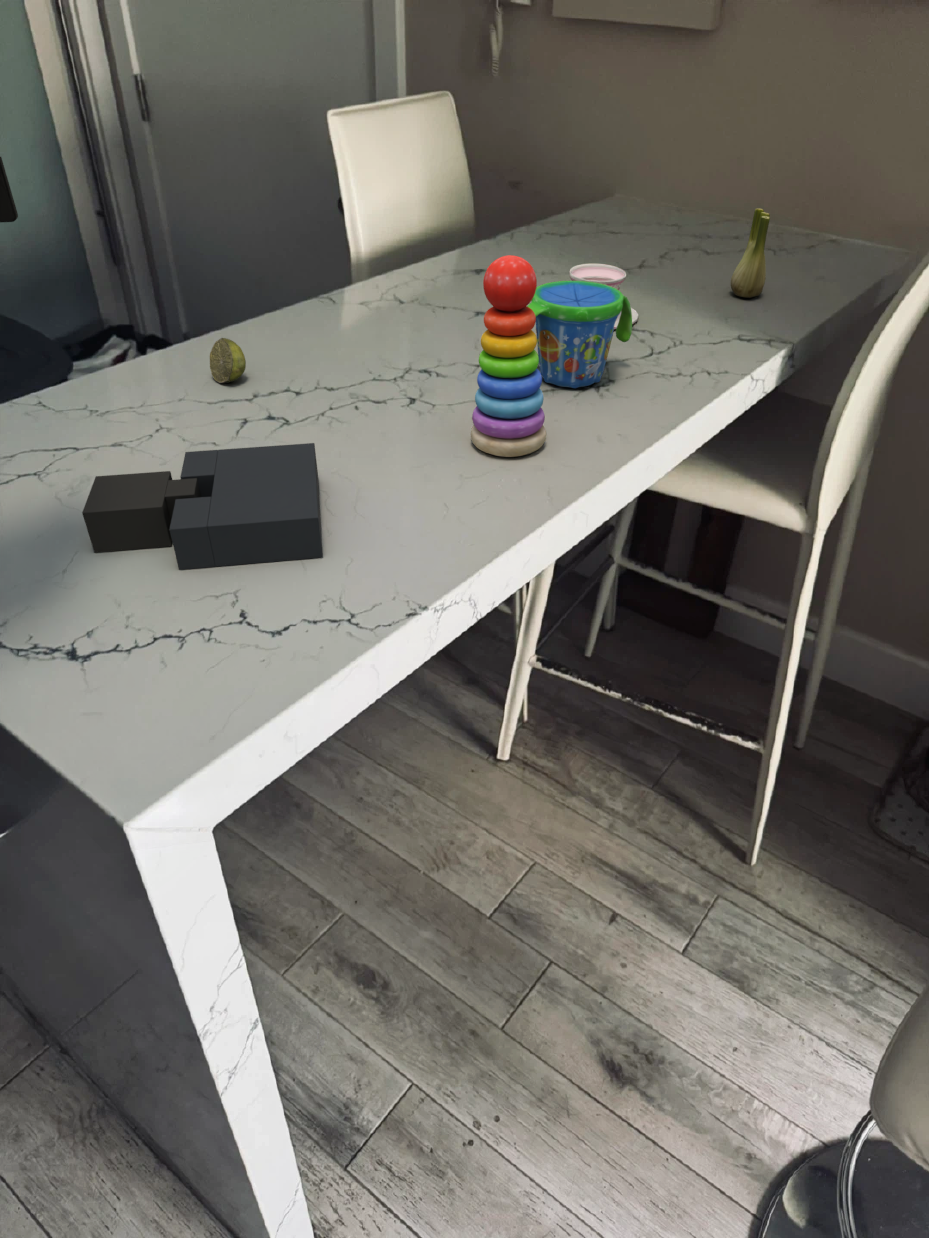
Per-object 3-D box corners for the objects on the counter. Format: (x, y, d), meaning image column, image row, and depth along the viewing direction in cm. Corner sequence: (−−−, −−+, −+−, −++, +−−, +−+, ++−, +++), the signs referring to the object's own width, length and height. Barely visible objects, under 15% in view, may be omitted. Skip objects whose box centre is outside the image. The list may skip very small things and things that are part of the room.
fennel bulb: (755, 303, 128) (773, 216, 121) (723, 298, 130) (738, 212, 123) (766, 293, 132) (784, 208, 125) (734, 288, 134) (750, 204, 127)
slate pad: (178, 570, 73) (169, 529, 71) (193, 489, 84) (185, 451, 82) (322, 557, 75) (318, 517, 72) (318, 480, 86) (314, 442, 83)
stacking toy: (554, 432, 94) (566, 250, 83) (534, 465, 88) (544, 273, 77) (484, 422, 96) (486, 243, 85) (460, 453, 90) (459, 265, 79)
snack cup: (604, 354, 112) (612, 272, 106) (649, 384, 105) (661, 297, 98) (494, 372, 107) (496, 288, 101) (533, 405, 100) (537, 316, 94)
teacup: (541, 307, 127) (544, 263, 123) (618, 301, 129) (623, 257, 126) (569, 335, 118) (572, 288, 114) (651, 328, 120) (657, 282, 116)
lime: (240, 389, 103) (234, 347, 100) (202, 385, 104) (195, 344, 101) (255, 374, 107) (249, 334, 104) (218, 371, 108) (211, 331, 105)
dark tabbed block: (94, 553, 75) (81, 512, 73) (106, 514, 80) (95, 476, 78) (201, 544, 76) (192, 504, 74) (206, 507, 82) (198, 468, 79)
